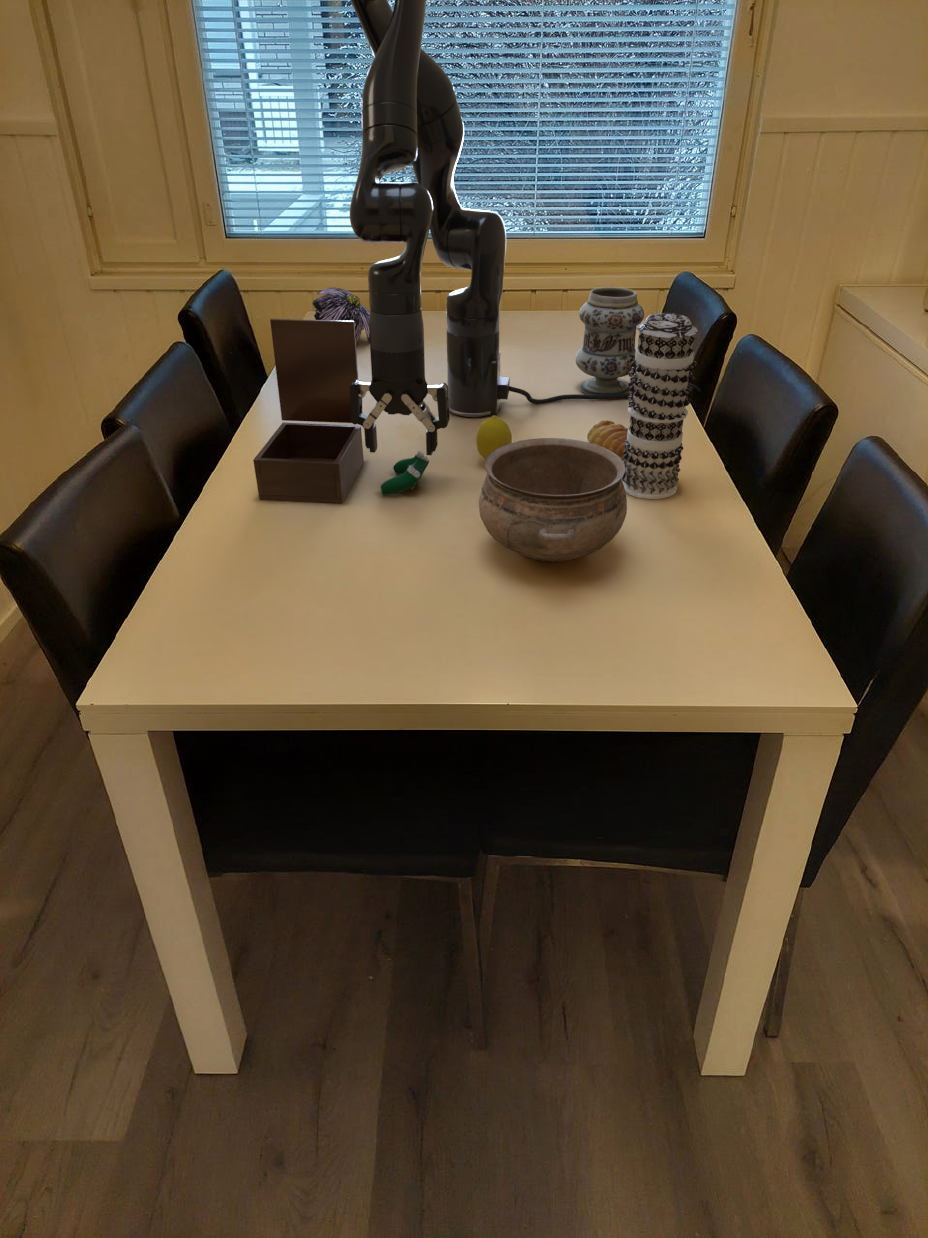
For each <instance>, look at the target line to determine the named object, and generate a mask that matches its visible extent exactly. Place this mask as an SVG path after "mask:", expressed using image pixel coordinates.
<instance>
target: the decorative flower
mask: <svg viewBox="0 0 928 1238" xmlns="http://www.w3.org/2000/svg"><path fill="white" fill-rule="evenodd" d="M316 294H317V295H321V296H319V297H317V298H315V299H314V300H313V301H312V303H311V305H312V306H313V307H314V308H315V313H314V314H313V317H314V320H341V321H354V323H355V337H356V344H357V343H358V341H359V340H360V337H361V336H362V332H363V330H364V331H365V334H366V338H367V342H368V343H369V344H370V342H369V318H370V310H369V309H368V308H367V307H365V305H363V304H362V303H361V301H360V298H359V296H357V295H355V294H353V293H352V292H350V291H348V290H347V289H344V288H342V287H326V288H323V289H321V290H319V291H318V292H316Z"/></svg>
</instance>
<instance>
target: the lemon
mask: <svg viewBox="0 0 928 1238" xmlns="http://www.w3.org/2000/svg"><path fill="white" fill-rule="evenodd" d="M476 432H477V433H476V439H475V440H476V441H475V442H476V449H477V451H478V454H479V455H480V456H481V457H482V458H483V459H484V460H485V461H486V458H487V457H488V456H489V454H491V453H492V452H493V451H494V450H496V449H498V448H500V447H502V446H504V445H507V444H510V443H513V442H512V441H513V437H512V431H511V427H510V426H509V424H508V423H507V421H506V420H504V419H502V417H498V416H497V415H491V417H488V418H486V419H484V420H483V421H482V422H481V423H480V424H479V427H478V429H477V431H476Z"/></svg>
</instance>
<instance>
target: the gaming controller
mask: <svg viewBox="0 0 928 1238" xmlns="http://www.w3.org/2000/svg"><path fill="white" fill-rule="evenodd" d="M429 463H430V459H429V458H428V455H427V454H424V452H422V451H420V450H418V451H417V453H416V454H415V455H414V456H413V457H409V458H404V459H400V460H398V461H397V462H396V463H395V464H393V467H392V469H393V472H394V473H395V474H397V475H396V476H393V477H391V478H389V479H387V480H385V481H384V482H383V483H382V484H381V485H380V492H381V494H382V495H393V494H397V493H401V492H405V491H406V490H414V488H415V487H416V484H418V483H419V481H420V480H421V478H422V475H423V474H424V472H425V471H426V469H427V468H428V465H429Z"/></svg>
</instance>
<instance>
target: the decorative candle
mask: <svg viewBox="0 0 928 1238" xmlns="http://www.w3.org/2000/svg"><path fill="white" fill-rule="evenodd" d="M692 323H693V322H692V321H691V320H690V318H689V317H688V316H685V315H683V314H680V313H675V312H658V313H657V312H656V313H653V314H650V315H648V316H647V317H646V318H645V320H643V322H641V323H640V324H639V325H637V327H636V330H637V331H638V332H639V333H638V338H637V342H638V345H637V348H635V349H636V354H635V356H632V357H631V358H630V362H631V366H632V369H631V372H630V373H629V375H628V376H629V378H630V379H629V380H630V381H629V382H628V386H629V391H630V396H629V397H628V398H627V401H628V408H627V412H628V415H629V416H630V418H629V427H628V432H627V440H626V441H625V442H624V444H625V448H626V450H625V451H624V452H623V454H624V458H625V459H623V460H622V461H623V463H624V465H625V473H624V475H623V477H622V478H621V479H622V482H623V485H624V488H625V493H626V495H627V494H628V495H630V496H632V497H636V498H638V499H644V500H645V499H646V500H661V499H666V498H670V497H672V496H673V495H675V494H676V492H677V490H678V482H679V481H680V478H679V473H680V472H681V468H680V463H681V461H682V459H683V457H682V452H683V450H684V446H683V437H684V433H683V426H684V419H686V418H687V417H688V414H689V410H688V409H687V408H686V407H688V406H689V405H691V403H692V400H691V398H690V397H689V396H690V395H691V394H692V393H693V392H694V390H693V388H691V387H690V386H689V385H688V383H691V382H692V381H694V380H695V379H696V378H697V376H696V374H695V373H694V372H693V371H694V370H696V369H697V368H698V366H699V363H698V362H697V361H695V360H694V357H695V351H694V347H695V341H696V334H697V333H698V332H699V329H698V328H697V327H696V326H694V325H693V324H692ZM635 360H636V361H635ZM636 362H637V365H636Z"/></svg>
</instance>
